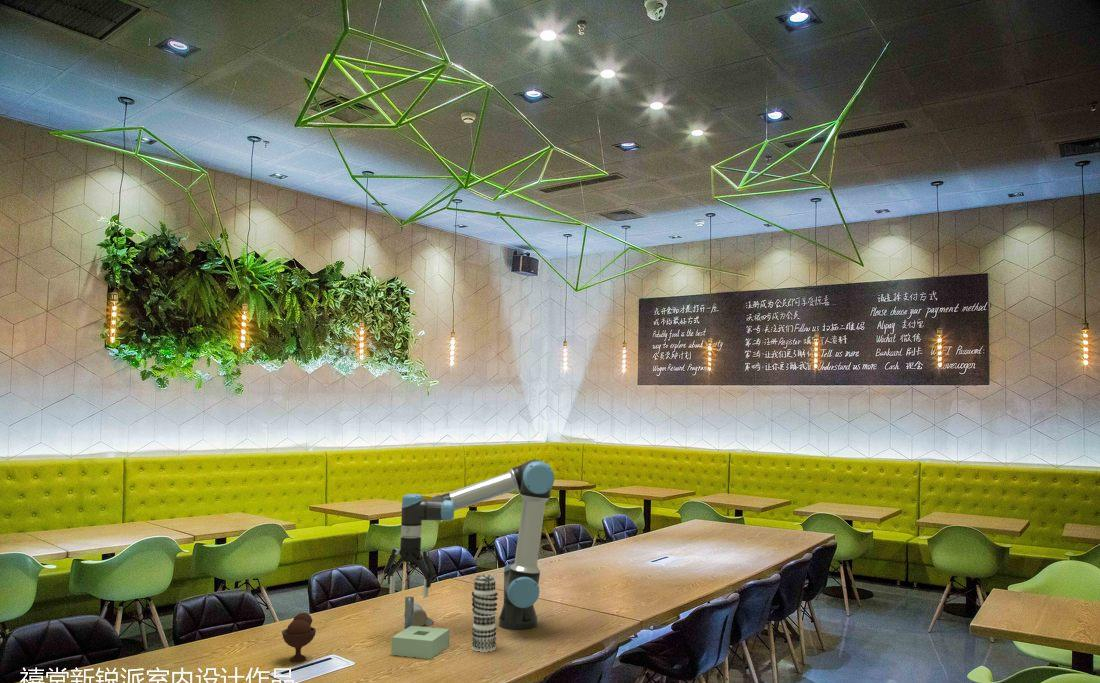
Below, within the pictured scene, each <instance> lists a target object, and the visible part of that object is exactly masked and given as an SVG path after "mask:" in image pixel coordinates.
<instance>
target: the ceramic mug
mask: <svg viewBox="0 0 1100 683" xmlns="http://www.w3.org/2000/svg"><path fill="white" fill-rule="evenodd" d="M403 616H404V618H405V612H404V615H403ZM425 624H426V625H429V626H431V625H433V624H434V620H433V619H432V618H431V617H428V614H427V612H426V610H425V609H424V608H423V607H422V606H421V604H419V603H414V618H413V626H421V627H424V626H425Z"/></svg>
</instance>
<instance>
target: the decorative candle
mask: <svg viewBox="0 0 1100 683" xmlns="http://www.w3.org/2000/svg"><path fill="white" fill-rule="evenodd" d="M496 581H497V579H496V578H495V577H494V576H493V574H479V575H476V577H475V578H474V579H473V582H474V583H473V584H474V585H473V586H474V587H473V591H471V596H472V598H471V602H472V603H471V605H472V609H471V610H472V616H473V624H472V626H473V627H472V629H471V630H472V633H471V634H472V638H471V640H472V642H471V646H472V647H471V650H472V649H473V650H472V651H474V650H475V651H474V652H477V651H480V652H479V653H489V652H488V651H490V652H493V650H494V651H495V650H496V649H497V647H496V646H497V637H496V635H497V631H496V630H497V628H496V615H497V612H496V611H497V610H498V608H497V606H498V604H497V603H496V601H497V600H498V595H499V594H498V593H497V588H496Z"/></svg>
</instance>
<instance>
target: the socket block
mask: <svg viewBox="0 0 1100 683" xmlns="http://www.w3.org/2000/svg"><path fill="white" fill-rule="evenodd" d="M450 630H451V629H450V628H442V627H441V628H440V627H431V626H422V627H421V626H410V627H408V628H406V629H405V630H404V629H403V630H401V631H400V632H398V633H397V634H394V635H393V636H392V637H391V651H390V652H391V654H390V655H391V656H394V655H399V656H398V657H404V656H407V657H406V658H413V657H416V659H423V658H424V659H425V660H433V659H434V658H435V656H438V654H440V653H441V652H443V651H444V650H445V649H446V648H449V646H450V640H451V638H450V633H451V631H450ZM424 659H423V660H424Z"/></svg>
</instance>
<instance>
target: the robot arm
mask: <svg viewBox="0 0 1100 683" xmlns="http://www.w3.org/2000/svg"><path fill="white" fill-rule="evenodd" d="M509 469H510V470H509V471H507V472H504V473H502V474H499V475H496V476H493V477H491V478H487V479H484V480H481V481H479V482H476V483H473V484H469V485H467V486H464V487H461V488H457V489H455V490H453V491H452V490H451V491H448V492H447V493H443V494H438V495H435V496H433V497H432V498H431V499H423V498H424V497H423V495H422V494H418V493H407V494H405V495H403V496H402V503H401V518H400V519H401V526H400V536H401V537H400V548H397V547H395V548H393V549H392V550H391V555H390V557H389V559H388V561H387V563H386V565H385V567H384V569H383V571H382V572H383V574H386V575H387V585H389V595H393V594H395V593H396V574H395V573H396V572H397V570H398V569H399V568H400V567H401V566H402V564H403V563H404V562H405V563H410V564H411V563H414V564H415V565H417V567H418V569H419V570H420V572H421V573H422V575H424V577H425V578H424V579H423V588H422V589H423V591H422V594H423V595H422V597H423V598H427V597H428V596H429V589H430V588H431V585H432V578H435V577H436V576H437V573H436V571H435V568H434V565H433V563H432V561H431V558H430V552H429V550H428V549H427V550H421V547H422V537H421V535H422V524H423V523H422V522H423V521H443V522H446V521H452V520H454V518H455V511H458V510H460V509H464V508H466V507H470V506H473V505H475V504H478V503H482V502H485V501H488V500H491V499H493V498H496V497H499V496H502V495H504V494H505V495H506V494H508V493H511V492H514V491H516V492H519V496H520V497H521V498H522V506H521V512H520V513H521V514H520V521H519V528H518V534H517V535H518V536H517V541H516V550H515V556H514V557H515V558H514V562H513V563H512V564H506V565H505V566H504V568H503V605H502V608H501V611H500V614H499V617H498V625H499V627H502V628H504V629H509V630H528V629H531V628H535V627H536V626H537V625H538V616H537V613H536V609H535V606H534V604H535V603H536V602H537V601H538V598H539V597H540V593H541V592H540V587H539V586H540V585H539V584H540V576H541V570H540V569H539V567H538V560H539V552H540V546H541V538H542V532H543V522H544V516H545V506H546V502H548V501H549V500H550V499H551V493H552V487H553V486H554V483H555V474H554V471H553V469H552V467H551V466H550V465H549V464H548V463H546V462H545V461H541V460H539V459H530V460H528V461H526V462H523V463H521V464H519V465H517V466H515V467H511V468H509ZM398 555H400V557H399V559H398V561H397V562H396V563H395V561H396V559H397V556H398ZM421 557H422V558H423V560H422V558H421ZM423 562H424V563H423Z"/></svg>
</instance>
